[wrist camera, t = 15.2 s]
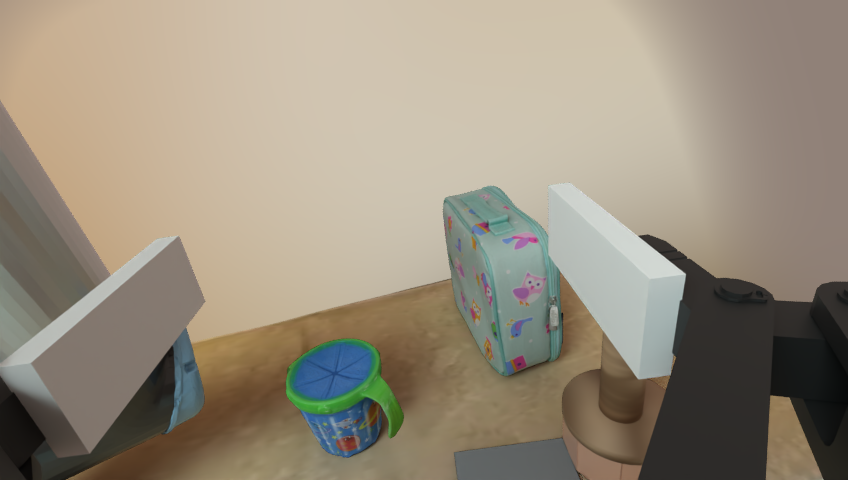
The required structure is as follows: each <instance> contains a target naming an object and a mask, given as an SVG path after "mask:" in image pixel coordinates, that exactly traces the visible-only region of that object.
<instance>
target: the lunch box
mask: <svg viewBox="0 0 848 480" xmlns="http://www.w3.org/2000/svg"><path fill="white" fill-rule="evenodd" d="M443 217H444V226H445V236H446V243H447V251H448V257H449V265H450V270H451V277H452V286H453V291H454V296H455V301H456V304H457V307H458V309H459V311H460V313H461V314H462V316H463V318H464V320H465V321H466V323H467V325H468V327H469V329H470V331H471V333H472V335H473V337H474V339H475V341H476V343H477V344H478V346H479V348H480V350H481V352H482V354H483V355H484V357H485V358H486V359H487V361H488V362H489V363H490V364H491V365H492V366H493V368H494V369H495V370H496V371H497V372H498V373H500V374H501V375H503V376H509V375H512V374H514V373H516V372H518V371H520V370H523V369H525V368H527V367H530V366H533V365H536V364H538V363H542V362H545V361H546V360H548V361H554V360H555V359H557V358H558V357H559V355H560V351H561V345H562V343H563V313H561V304H560V270H559V269H558V267H557V266H556V265H555V263H554V262H553V260H552V259H551V258H550V256H549V255H548V235H547V233H546V232H545V231H544V229H543V228H542V227H541V226H540V225H539V224H538V223H537V222H536V221H535V220H533V219H532V218H531V217H529V216H528V215H526V214H525V213H524V212H522V211H521V210H519V209H518V208H517V207H516V206H515V205H514V204H513V203H512V201H511V200H510V199H509V198H508V197H507V195H505V193H504V192H503V191H502V190H501V189H500V188H498V187H495V186H487V187H483V188H482V189H479V190H475V191H471V192H468V193H464V194H460V195H455V196H449V197H446V198H445V200H444V206H443Z"/></svg>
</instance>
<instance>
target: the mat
mask: <svg viewBox="0 0 848 480" xmlns="http://www.w3.org/2000/svg"><path fill="white" fill-rule="evenodd" d="M454 455H455V462H456V470H457V477H458V480H580V479H579V476H578V474H577V471H576V469H575V467H574V464H573V462H572V459H571V457H570V455H569V452H568V450H567V448H566V445H565V443H564V440H563V438H558V439H550V440H543V441H536V442H528V443H521V444H513V445H506V446H499V447H491V448H484V449H476V450H469V451H462V452H454Z"/></svg>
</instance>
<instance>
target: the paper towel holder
mask: <svg viewBox="0 0 848 480" xmlns="http://www.w3.org/2000/svg"><path fill="white" fill-rule="evenodd" d="M665 391H666V390H665V389H663V388H662V387H661V386H659V385H658V384H656V383H655V382H653V381H651V380H649V379H647V378H646V379H638V378H637V377H636V376H635V374H634V373H633V372H632V370H631V369H630V367H629V366H628V365H627V363H626V362H625V360H624V359H623V358H622V356H621V355H620V353H619V352H618V351H617V349H616V348H615V347H614V345H613V344H612V342H611V341H610V340H609V338H608V337H607V335H606V334H605V333H604V331H603V341H602V357H601V369H596V370H590V371H587V372H584V373H582V374H579V375H578V376H576V377H574V378H573V379H572V380H571V381H570V382H569V383H568V384H567V386H566V387H565V389H564V392H563V397H562V414H563V419H564V421H565V424H566V426H567V428H568V429H569V431H570V432H571V434H572V435H573V436H574V437H575V438H576V440H577V441H579V442H580V443H581V444H582V445H583V446H584V447H586V448H587V449H589V450H590V451H592V452H593V453H595V454H597V455H599V456H601V457H603V458H605V459H608V460H611V461H614V462H617V463H621V464H627V465H642V464H643V461H644V458H645V455H646V452H647V448H648V445H649V442H650V439H651V436H652V433H653V429H654V426H655V423H656V420H657V417H658V414H659V410H660V407H661V404H662V401H663V398H664V395H665Z"/></svg>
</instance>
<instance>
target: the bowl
mask: <svg viewBox="0 0 848 480" xmlns="http://www.w3.org/2000/svg"><path fill="white" fill-rule="evenodd" d="M562 437H563V440H564V442H565V444H566V447H567V450H568V452H569V455H570V457H571V459H572V462H573V464H574V466H575V468H576V470H577V471H578V472H579V473H581V474H582V475H583V476H584V477H585V478H586V479H588V480H638V477H639V474H640V471H641V467H642V465H627V464H621V463H617V462H614V461H611V460H608V459H605V458H603V457H601V456H599V455H597V454H595V453H593V452H592V451H590V450H589V449H587V448H586V447H584V446H583V445H582V444H581V443H580V442H579V441H577V440H576V438H575V437H574V436H573V435H572V434H571V432H570V431H569V429H568V428H567V426H566V424H565V421H564V419H563V435H562Z"/></svg>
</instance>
